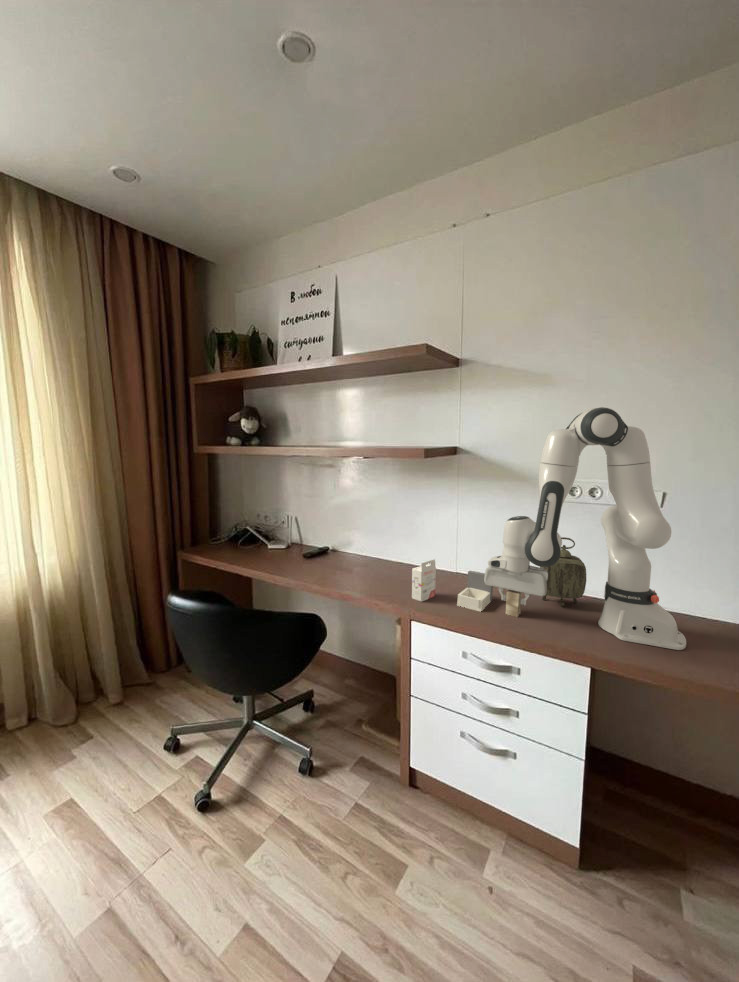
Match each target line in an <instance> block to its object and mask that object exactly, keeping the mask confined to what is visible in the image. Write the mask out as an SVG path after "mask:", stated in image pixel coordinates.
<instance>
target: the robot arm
mask: <svg viewBox="0 0 739 982" xmlns="http://www.w3.org/2000/svg"><path fill="white" fill-rule="evenodd" d="M587 446H601V447H602V448H603V450H604V452H605V455H606V470H607V479H608V480H607V482H608V491H609V493H610V494H611V495H612V497H613V499H614V502H615V505H611V506H609V507H607V508H606V509H604V510H603V512H602V514H601V517H600V522H601V523H600V524H601V526H602V527H603V530H604V534H605V540H606V546H607V547H606V548H607V552H608V553H607V555H608V567H607V568H608V569H607V571H608V572H607V581H606V583H605V585H604V595H603V597H604V605H603V608H602V612H601V614H600V617H599V619H598V623H597V624H598V626H599V627H600V628H601V629H603V630H604V631H606V632H607V633H610V634H612V635H613V636H614V637H616V638H617V639H619V640H621V641H624V642H630V643H636V644H641V645H649V646H654V647H659V648H665V649H671V650H677V651H682V650H684V649H685V648H687V639H686V637H685V635H684V634H683V633H682V632H681V631H679V630H678V625H677V624H678V623H677V622H676V621H677V620H676V619H675V617H674V616H673V615H672V614H671V613H670V612H669V611H667V610H666V609H665V608H663V607H662V606H661V605H660V604H658V603H660V597H659V596H658V593H657V592H656V590H655V589H654V590H653V589H651V588H650V587H651V585H650V584H651V575H652V564H651V561H650V558H649V557H648V554H647V550H646V549H648V550H649V549H650V550H651V549H653V550H655V549H660V548H662V547H663V546H665V545H666V544H667V543H668V542H669V541H670V539H671V537H672V528H671V525H670V523H669V522H668V520H667V519H666V518H665V517H664V515H663V513H662V511H661V509H660V505H659V503H658V500H657V498H656V495H655V490H654V486H653V478H652V466H651V455H650V450H649V446H648V441H647V438H646V435H645V432H644V431H643V429H641V428H639V427H636V426H628V425H627V424H626V423H625V421H624V420H623V419H622V417H621V415H620V414H619V413H618V412H616V411H615V410H614V409H612V408H609V407H602V406H601V407H595V408H590V409H587V410H585V411H583V412H581V413H579V414H577V415H576V416H575V417H574V418H573V420H572V421H571V422H570V423H569V425H568V426H567V427H566V428H559V429H554V430H553V431H550V433H548V434H547V436H546V439H545V442H544V444H543V447H542V451H541V455H540V459H539V465H538V466H539V467H538V490H539V491H538V493H539V503H538V509H537V513H536V514H537V515H536V520H535V521H534V520H533V519H531V518H530V516H526V515H516V516H513V517H512V516H511V517H510V518H508V519H507V520H506V521H505V524H504V527H503V534H502V535H503V537H502V543H503V550H502V554H501V555H495V556H491V558H490V559H489V560H488V561H487V565H488V566H487V567H486V569H485V571H484V573H485V577H484V582H485V584H486V585H490V586H493V587H495V588H498V592H499V594H500V597H501V598H500V599H501V601H504V602H506V594H505V591H504V590H514V591H518V592H522V593H524V598H522V597H521V606H526V605H527V600H528V599H529V597H530V596H531V595H532V596H533V595H534V596H538V597H542V596H544V595H545V594H546V592H547V582H546V581H547V580H548V572H547V571H546V570H545V569H544V568H541V567H549V566H552V565H554V564H555V563H556V562H557V561H558V560H559V558H560V554H561V547H562V546H563V539H561V537H562V536H561V535H560V534H559V532H558V530H559V523H560V519H561V518H560V517H561V513H562V507H563V506H564V505H563V504H564V502H565V500H566V498H567V496H568V495H569V493H570V491H571V489H572V487H573V486H574V482H575V480H576V477H577V473H578V469H579V463H580V457H581V454H582V452H583V450H584V448H586V447H587ZM531 563H532V564H533V565H530V564H531Z"/></svg>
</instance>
